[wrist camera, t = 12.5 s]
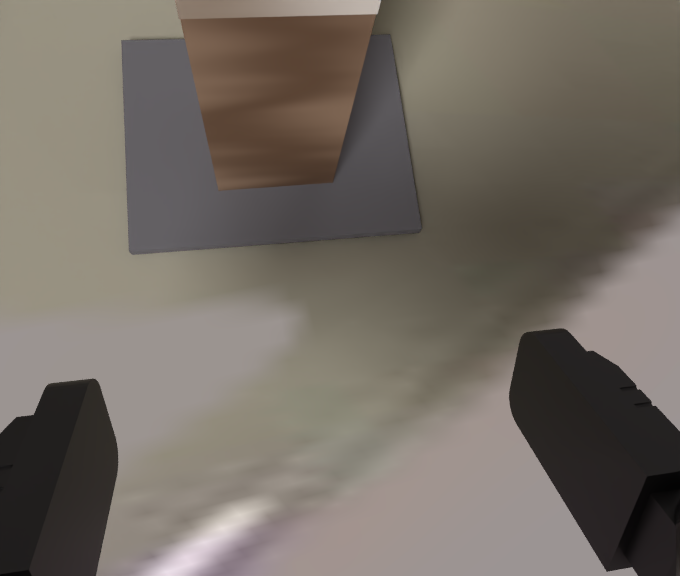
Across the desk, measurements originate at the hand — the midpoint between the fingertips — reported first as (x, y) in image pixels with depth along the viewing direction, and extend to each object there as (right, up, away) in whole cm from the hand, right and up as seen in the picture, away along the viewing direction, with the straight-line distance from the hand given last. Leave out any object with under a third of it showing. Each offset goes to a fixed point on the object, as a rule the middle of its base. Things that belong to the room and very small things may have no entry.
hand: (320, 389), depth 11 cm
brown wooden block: (-2, +7, +9) cm, 12 cm away
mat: (-2, +7, +10) cm, 12 cm away
